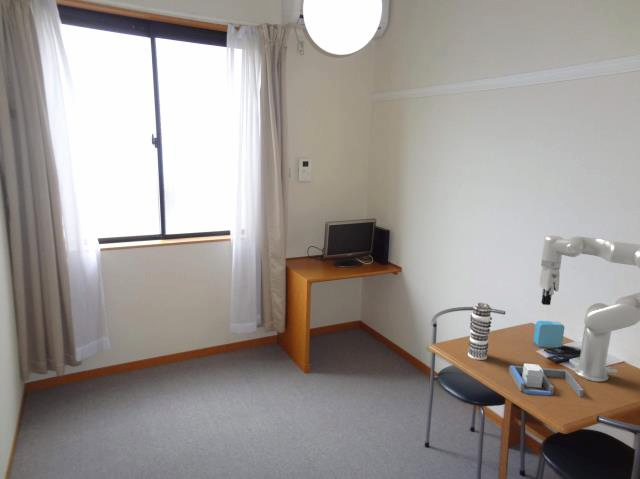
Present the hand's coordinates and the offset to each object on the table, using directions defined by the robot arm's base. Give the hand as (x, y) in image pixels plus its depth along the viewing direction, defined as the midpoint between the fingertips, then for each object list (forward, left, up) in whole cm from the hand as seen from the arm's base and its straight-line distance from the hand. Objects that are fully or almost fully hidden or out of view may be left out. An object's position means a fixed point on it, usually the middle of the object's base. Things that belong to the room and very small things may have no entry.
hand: (545, 304), depth 197 cm
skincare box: (+10, +22, -27) cm, 37 cm away
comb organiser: (+5, +22, -27) cm, 36 cm away
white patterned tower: (+27, 0, -27) cm, 38 cm away
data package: (-10, -18, -27) cm, 34 cm away
